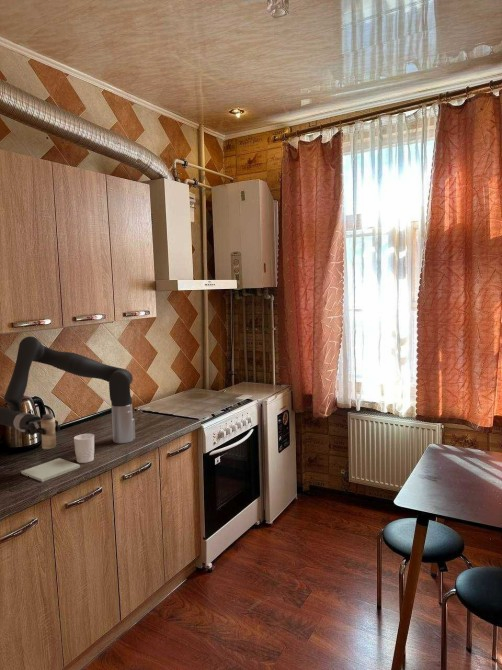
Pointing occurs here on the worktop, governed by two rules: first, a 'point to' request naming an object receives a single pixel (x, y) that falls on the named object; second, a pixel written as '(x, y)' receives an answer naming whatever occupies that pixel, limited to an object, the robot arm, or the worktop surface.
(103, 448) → the worktop surface
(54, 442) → the pepper mill
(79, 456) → the white cup
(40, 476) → the board
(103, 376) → the robot arm
